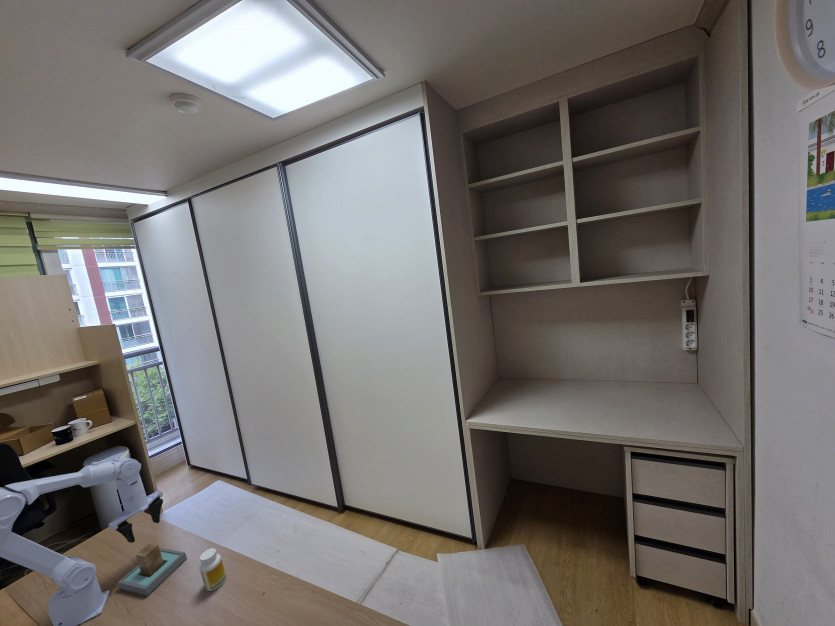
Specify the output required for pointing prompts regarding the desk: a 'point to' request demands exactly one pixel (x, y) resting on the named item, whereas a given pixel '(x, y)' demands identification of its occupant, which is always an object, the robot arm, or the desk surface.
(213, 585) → the supplement bottle
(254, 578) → the desk surface
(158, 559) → the peg
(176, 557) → the socket box
